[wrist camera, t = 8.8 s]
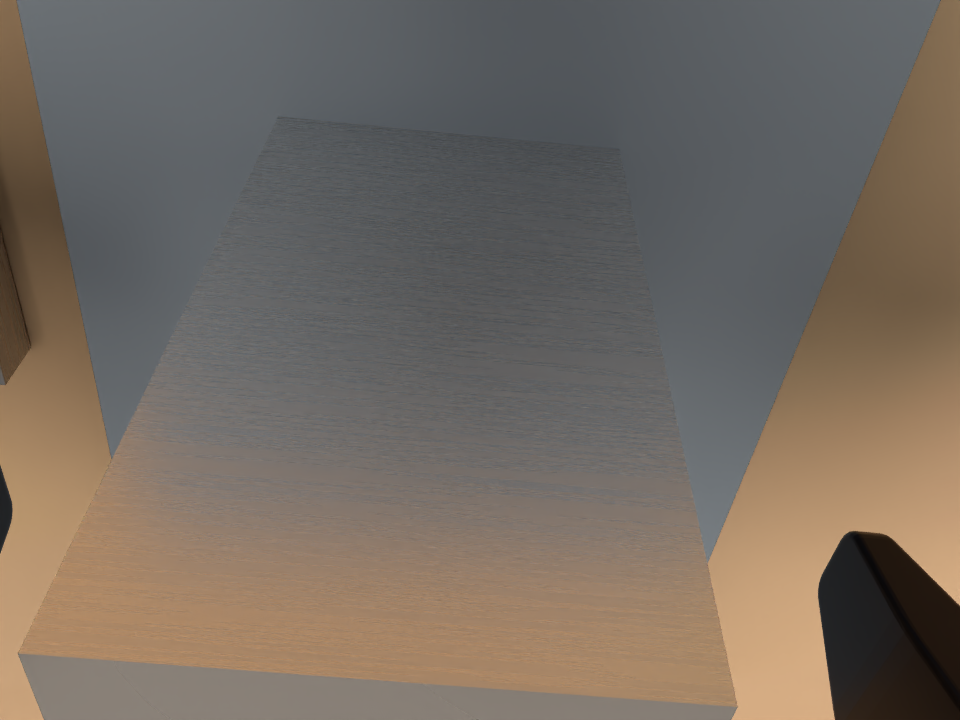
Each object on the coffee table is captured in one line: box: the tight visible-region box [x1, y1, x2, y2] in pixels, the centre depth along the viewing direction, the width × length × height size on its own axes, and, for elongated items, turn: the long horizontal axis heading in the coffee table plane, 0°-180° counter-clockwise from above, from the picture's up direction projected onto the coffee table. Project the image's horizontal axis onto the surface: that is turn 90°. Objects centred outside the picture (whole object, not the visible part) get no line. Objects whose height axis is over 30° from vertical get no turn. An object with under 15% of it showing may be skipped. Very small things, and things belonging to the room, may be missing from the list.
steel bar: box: [18, 116, 738, 720], centre depth 10 cm, size 4×4×8 cm
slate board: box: [17, 0, 941, 563], centre depth 14 cm, size 11×22×1 cm, turn 174°
